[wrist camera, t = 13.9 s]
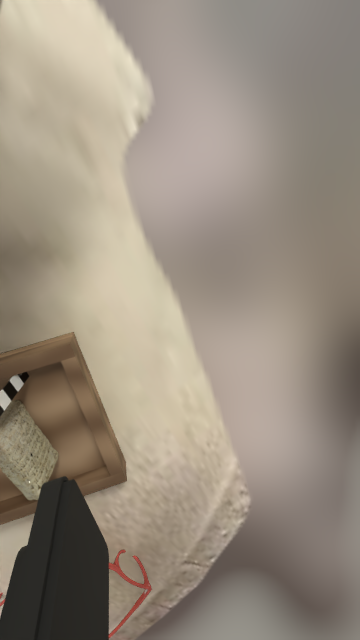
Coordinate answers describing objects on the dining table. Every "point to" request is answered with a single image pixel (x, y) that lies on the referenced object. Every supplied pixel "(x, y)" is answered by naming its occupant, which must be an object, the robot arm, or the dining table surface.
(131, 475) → the dining table surface
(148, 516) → the dining table surface
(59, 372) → the wooden tray
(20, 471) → the cuneiform tablet
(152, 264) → the dining table surface
